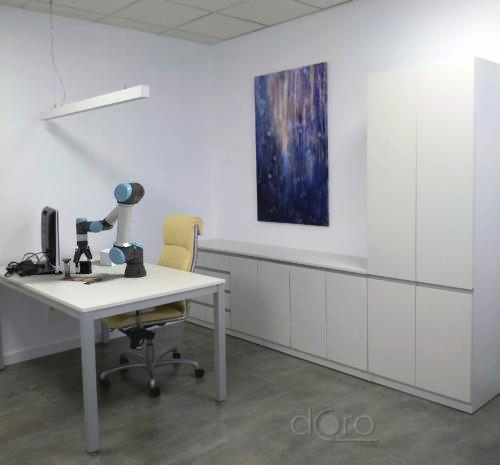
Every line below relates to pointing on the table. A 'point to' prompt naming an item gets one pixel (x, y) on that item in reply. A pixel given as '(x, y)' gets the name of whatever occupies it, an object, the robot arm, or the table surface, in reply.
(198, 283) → the table surface
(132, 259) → the robot arm
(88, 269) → the electronic device
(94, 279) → the walnut board
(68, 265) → the bobbin
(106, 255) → the white rectangular block
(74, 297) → the table surface
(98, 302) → the table surface
